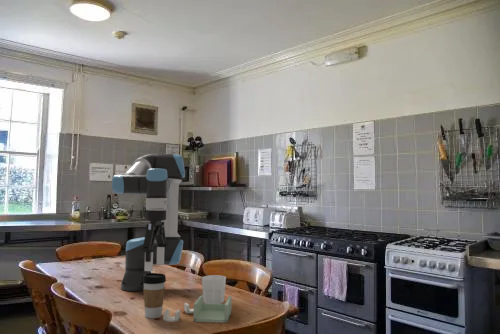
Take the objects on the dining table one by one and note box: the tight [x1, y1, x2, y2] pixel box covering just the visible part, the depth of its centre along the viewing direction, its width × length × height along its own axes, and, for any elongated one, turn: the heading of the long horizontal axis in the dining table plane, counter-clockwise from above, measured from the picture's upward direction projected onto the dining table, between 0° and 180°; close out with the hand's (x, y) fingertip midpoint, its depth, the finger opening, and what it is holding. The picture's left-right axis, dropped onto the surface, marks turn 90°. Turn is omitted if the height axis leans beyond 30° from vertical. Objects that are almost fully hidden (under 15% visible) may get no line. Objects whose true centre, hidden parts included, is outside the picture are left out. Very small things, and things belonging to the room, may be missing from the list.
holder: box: [192, 294, 233, 324], centre depth 140 cm, size 12×12×6 cm
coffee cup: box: [142, 272, 167, 319], centre depth 141 cm, size 8×8×15 cm
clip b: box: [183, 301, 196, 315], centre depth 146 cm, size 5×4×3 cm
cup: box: [201, 274, 227, 304], centre depth 159 cm, size 10×10×10 cm
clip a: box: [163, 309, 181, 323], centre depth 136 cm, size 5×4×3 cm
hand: (154, 267), depth 141 cm, fingers open, 13 cm apart
